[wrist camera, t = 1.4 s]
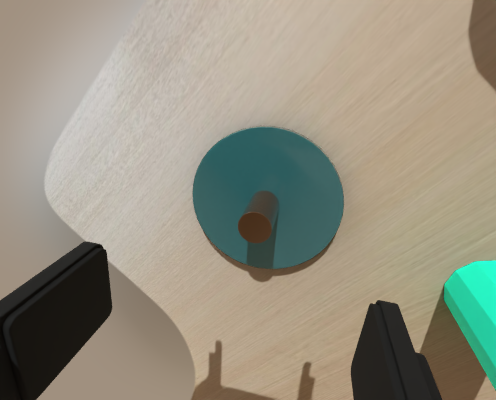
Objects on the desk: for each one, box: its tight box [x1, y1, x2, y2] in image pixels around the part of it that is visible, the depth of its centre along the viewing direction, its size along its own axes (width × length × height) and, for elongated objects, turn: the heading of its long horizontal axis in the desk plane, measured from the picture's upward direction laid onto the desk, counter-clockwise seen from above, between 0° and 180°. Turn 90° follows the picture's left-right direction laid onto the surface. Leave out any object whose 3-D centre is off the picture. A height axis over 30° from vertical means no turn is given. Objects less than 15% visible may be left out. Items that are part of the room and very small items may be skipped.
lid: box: [193, 126, 344, 269], centre depth 24 cm, size 12×12×6 cm
